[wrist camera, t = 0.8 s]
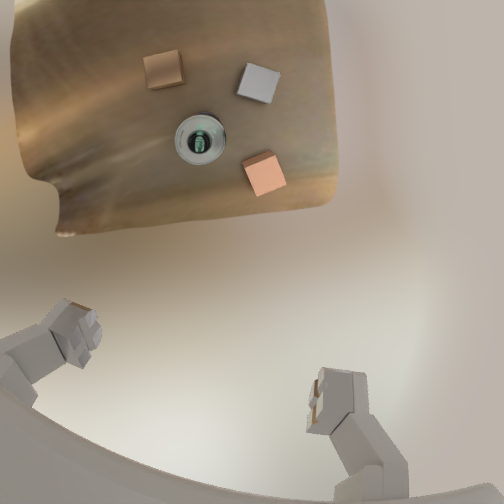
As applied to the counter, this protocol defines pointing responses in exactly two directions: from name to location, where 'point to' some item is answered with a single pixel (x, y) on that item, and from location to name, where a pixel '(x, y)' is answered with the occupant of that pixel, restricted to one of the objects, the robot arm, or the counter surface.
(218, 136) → the spray can
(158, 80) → the walnut block
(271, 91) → the charcoal block
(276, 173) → the terracotta block
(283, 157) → the counter surface
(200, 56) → the counter surface
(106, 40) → the counter surface
